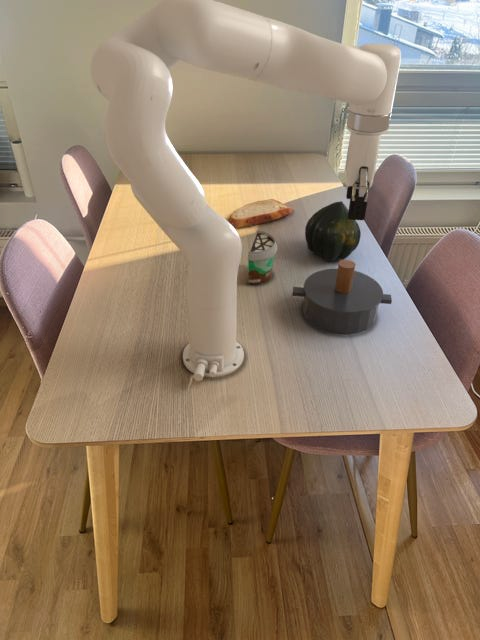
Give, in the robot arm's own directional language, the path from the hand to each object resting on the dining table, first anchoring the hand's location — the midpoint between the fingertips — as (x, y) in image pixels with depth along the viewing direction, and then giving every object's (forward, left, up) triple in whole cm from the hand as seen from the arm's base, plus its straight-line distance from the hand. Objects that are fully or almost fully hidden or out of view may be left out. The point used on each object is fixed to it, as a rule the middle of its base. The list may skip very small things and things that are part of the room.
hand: (354, 208), depth 104 cm
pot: (0, 0, -26) cm, 26 cm away
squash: (+28, +2, -26) cm, 39 cm away
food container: (+14, +19, -26) cm, 35 cm away
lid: (0, 0, -20) cm, 20 cm away
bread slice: (+48, +23, -26) cm, 59 cm away
